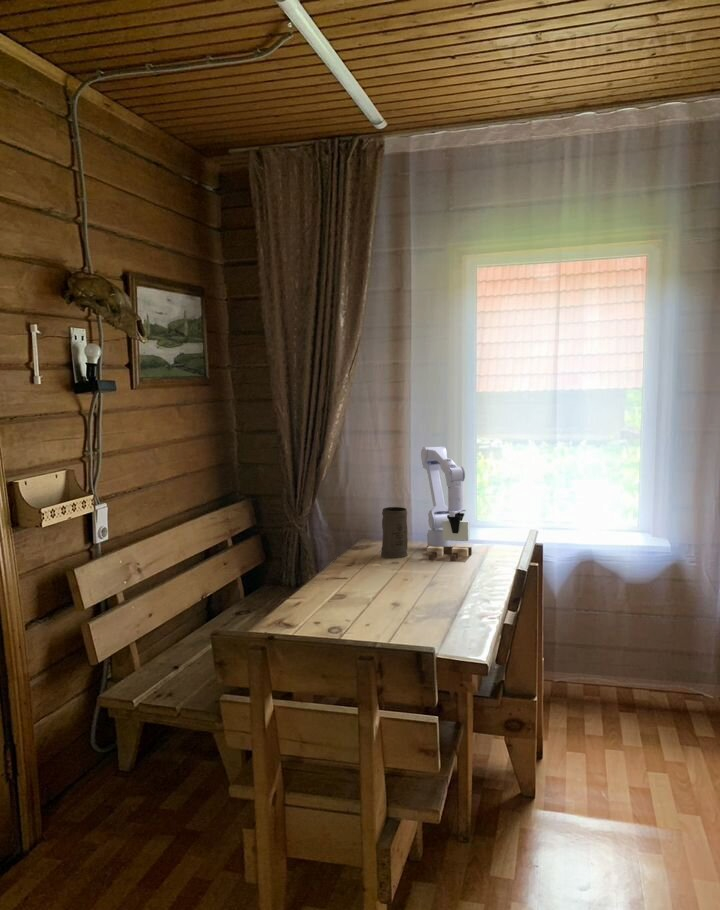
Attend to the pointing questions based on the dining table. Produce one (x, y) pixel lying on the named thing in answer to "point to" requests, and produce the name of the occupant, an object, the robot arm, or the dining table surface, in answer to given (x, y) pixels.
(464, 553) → the offcut right
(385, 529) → the beer stein
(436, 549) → the offcut left
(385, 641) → the dining table surface
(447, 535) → the panel
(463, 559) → the rack
